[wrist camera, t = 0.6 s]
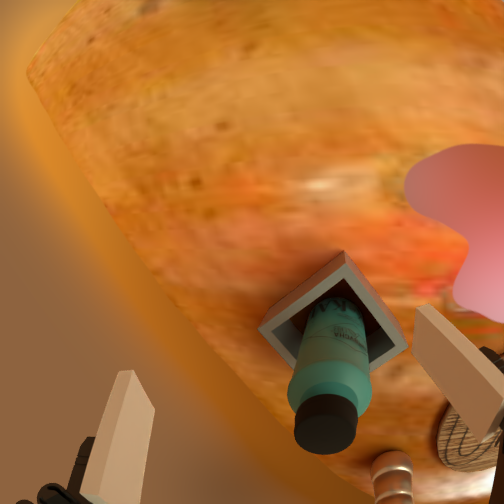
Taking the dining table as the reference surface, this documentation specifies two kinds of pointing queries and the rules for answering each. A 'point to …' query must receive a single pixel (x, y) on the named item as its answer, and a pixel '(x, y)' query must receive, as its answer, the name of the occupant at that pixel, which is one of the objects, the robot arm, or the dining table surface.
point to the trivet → (464, 444)
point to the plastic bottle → (392, 478)
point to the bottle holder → (277, 318)
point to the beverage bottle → (330, 377)
